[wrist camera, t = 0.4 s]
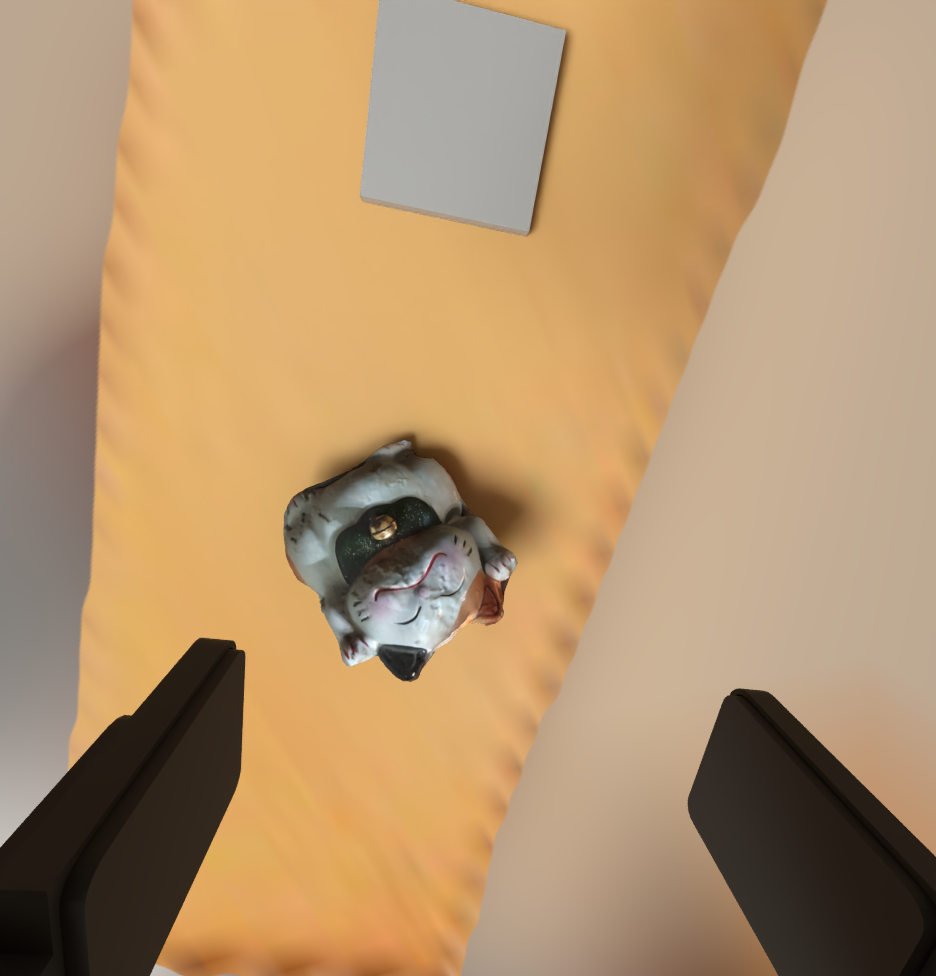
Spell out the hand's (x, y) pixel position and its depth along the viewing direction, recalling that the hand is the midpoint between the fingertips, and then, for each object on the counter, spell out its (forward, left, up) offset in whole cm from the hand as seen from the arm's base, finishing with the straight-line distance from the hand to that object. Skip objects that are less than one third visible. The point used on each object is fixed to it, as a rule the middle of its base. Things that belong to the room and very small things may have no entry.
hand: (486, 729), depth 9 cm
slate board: (-23, -3, -30) cm, 38 cm away
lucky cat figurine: (+7, -3, -30) cm, 31 cm away
